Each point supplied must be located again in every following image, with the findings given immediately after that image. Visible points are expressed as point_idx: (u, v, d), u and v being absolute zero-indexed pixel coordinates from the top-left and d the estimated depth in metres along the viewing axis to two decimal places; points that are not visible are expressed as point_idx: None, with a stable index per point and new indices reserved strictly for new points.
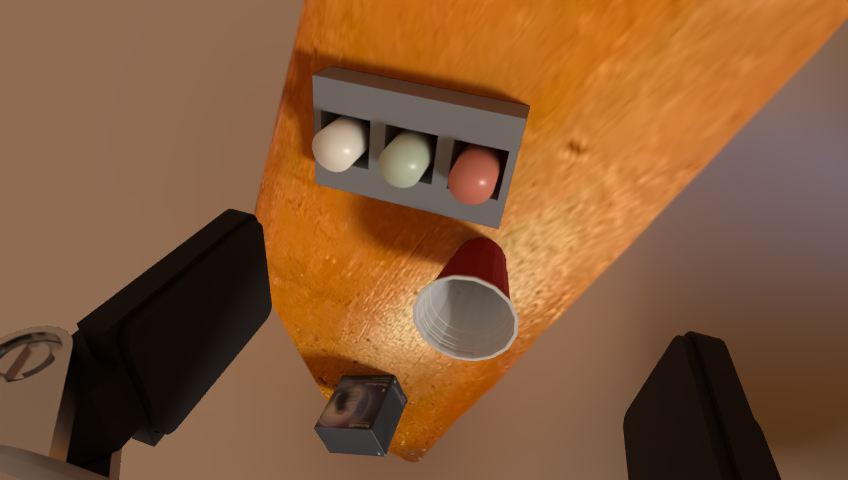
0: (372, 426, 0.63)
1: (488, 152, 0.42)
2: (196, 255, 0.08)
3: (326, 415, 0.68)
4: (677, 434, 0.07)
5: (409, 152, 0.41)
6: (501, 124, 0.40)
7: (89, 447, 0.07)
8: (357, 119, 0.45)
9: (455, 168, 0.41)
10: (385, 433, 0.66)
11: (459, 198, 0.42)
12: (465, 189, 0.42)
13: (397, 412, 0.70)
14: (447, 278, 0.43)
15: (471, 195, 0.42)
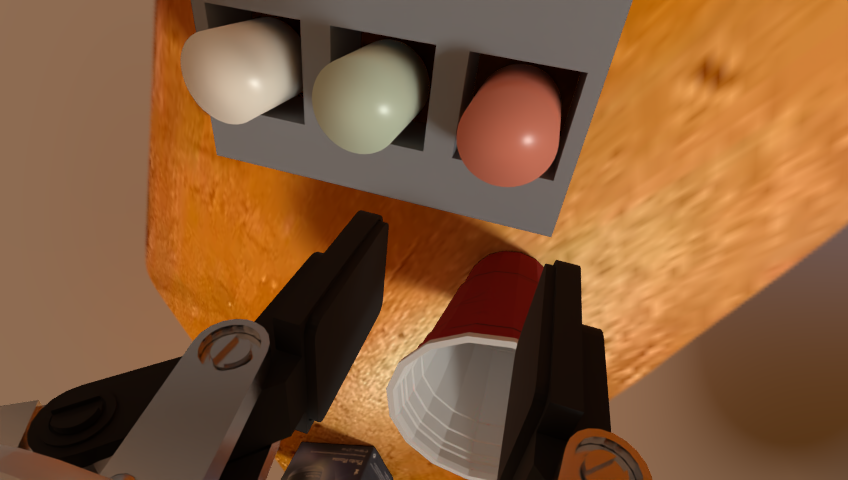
0: None
1: (540, 78, 0.20)
2: (348, 254, 0.09)
3: None
4: (531, 340, 0.09)
5: (374, 74, 0.19)
6: (574, 8, 0.18)
7: (271, 432, 0.08)
8: (279, 24, 0.23)
9: (473, 106, 0.19)
10: None
11: (480, 174, 0.20)
12: (494, 155, 0.20)
13: None
14: (455, 340, 0.20)
15: (506, 167, 0.20)
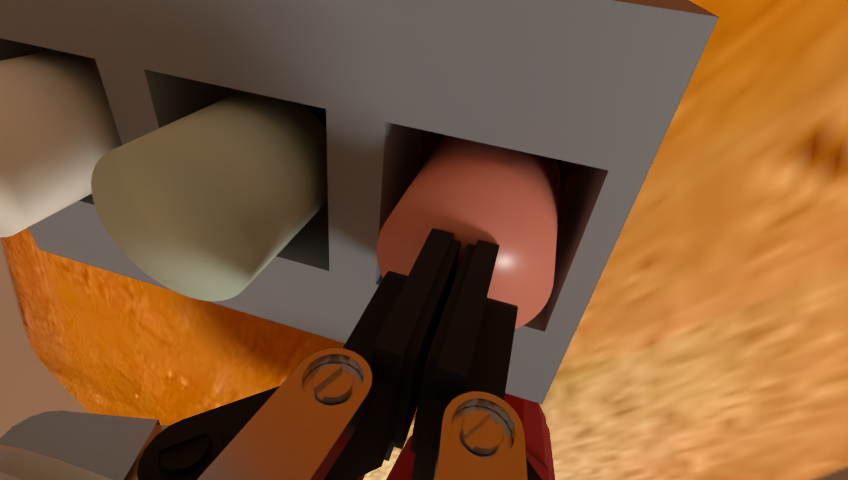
0: None
1: None
2: (431, 276, 0.09)
3: None
4: None
5: (186, 179, 0.10)
6: (583, 50, 0.09)
7: (365, 463, 0.08)
8: (85, 61, 0.14)
9: (400, 214, 0.10)
10: None
11: None
12: None
13: None
14: None
15: None
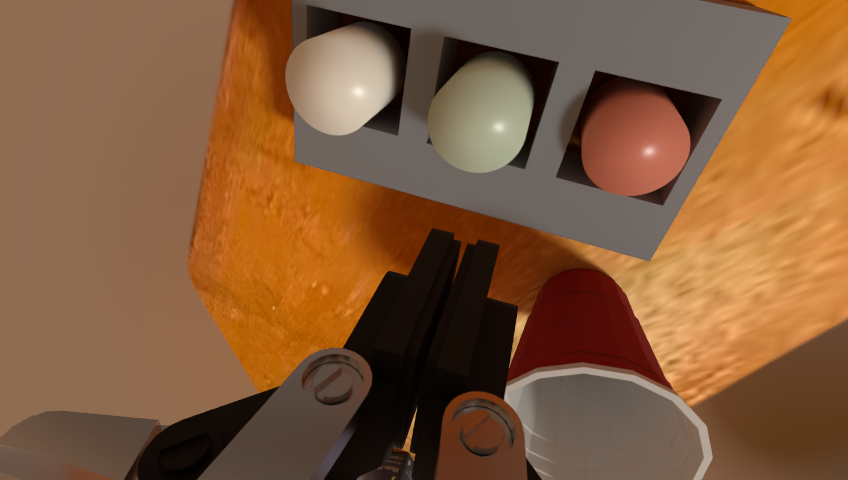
0: None
1: (661, 91, 0.21)
2: (431, 276, 0.09)
3: None
4: None
5: (503, 93, 0.18)
6: (720, 32, 0.18)
7: (365, 464, 0.08)
8: (381, 30, 0.22)
9: (606, 117, 0.19)
10: None
11: (600, 182, 0.21)
12: (619, 164, 0.20)
13: None
14: (569, 370, 0.20)
15: (629, 176, 0.20)
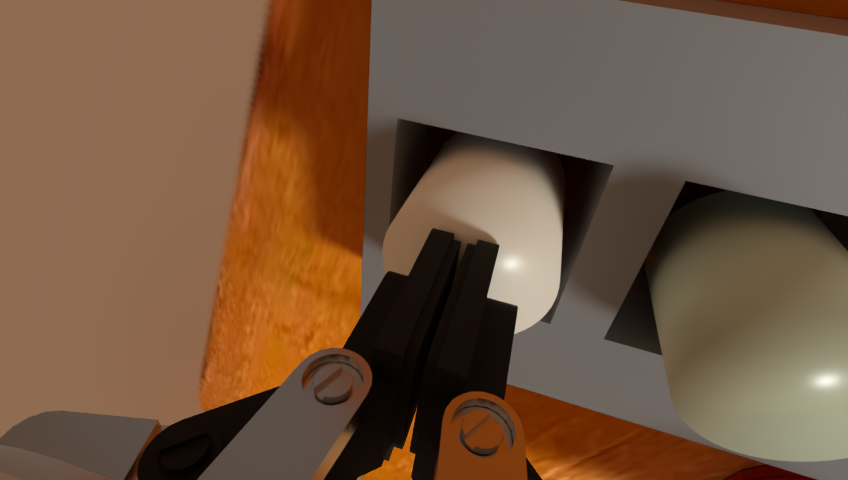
0: None
1: None
2: (431, 276, 0.09)
3: None
4: None
5: None
6: None
7: (365, 464, 0.08)
8: None
9: None
10: None
11: None
12: None
13: None
14: None
15: None
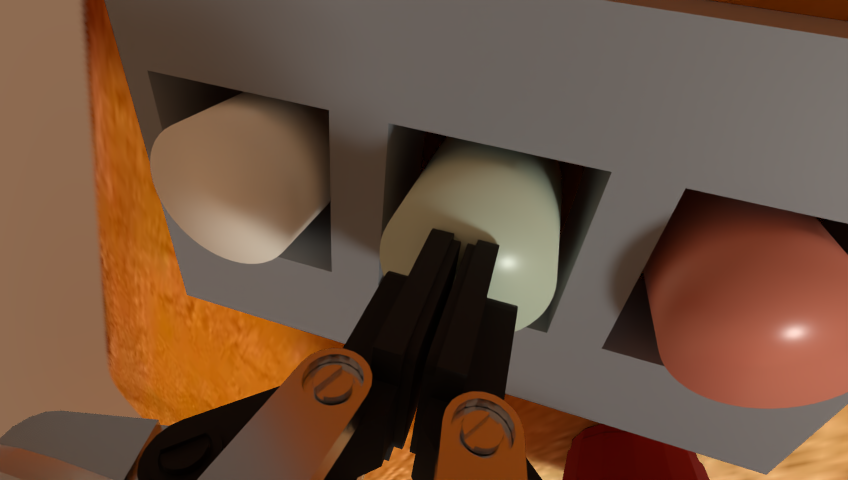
0: None
1: None
2: (431, 276, 0.09)
3: None
4: None
5: (511, 224, 0.10)
6: None
7: (365, 464, 0.08)
8: None
9: (714, 286, 0.10)
10: None
11: (692, 383, 0.11)
12: (734, 361, 0.10)
13: None
14: None
15: (751, 380, 0.11)
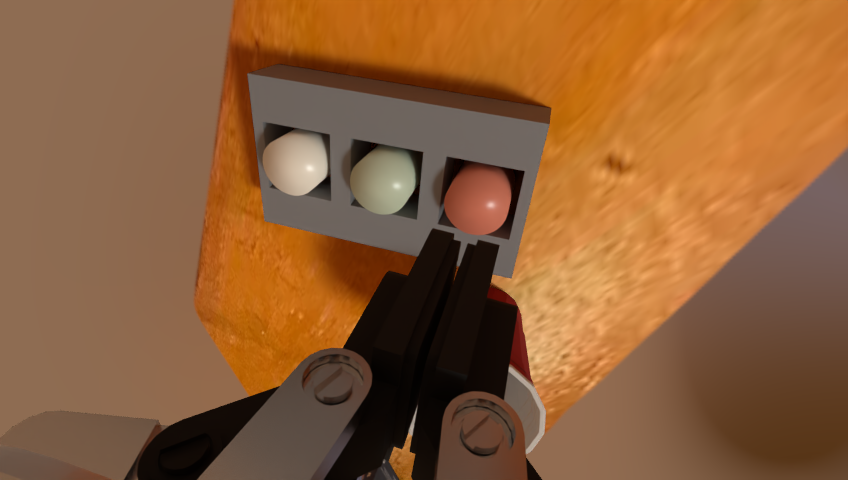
0: None
1: None
2: (432, 276, 0.09)
3: None
4: None
5: (390, 167, 0.30)
6: (512, 132, 0.28)
7: (365, 464, 0.08)
8: None
9: (454, 186, 0.30)
10: None
11: (460, 227, 0.31)
12: (468, 215, 0.30)
13: None
14: None
15: (476, 222, 0.31)
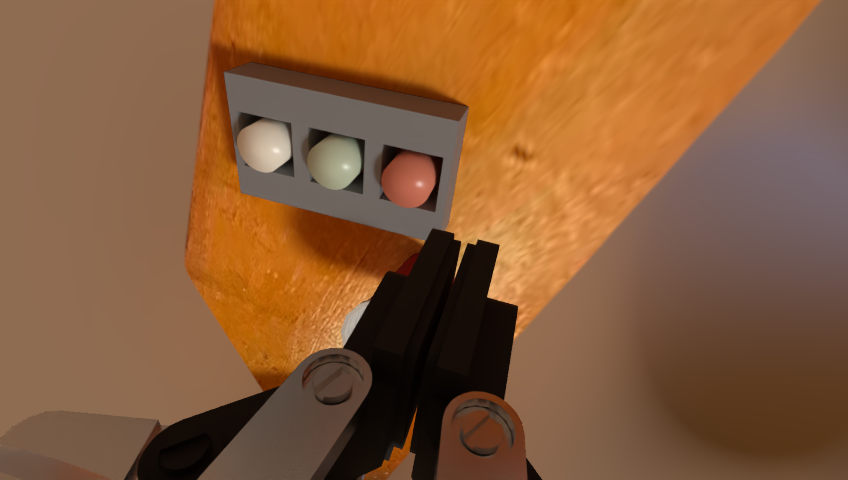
0: None
1: None
2: (432, 276, 0.09)
3: None
4: None
5: (338, 151, 0.38)
6: (432, 127, 0.36)
7: (365, 464, 0.08)
8: None
9: (388, 168, 0.37)
10: None
11: (395, 201, 0.39)
12: (400, 191, 0.38)
13: None
14: None
15: (407, 198, 0.38)
